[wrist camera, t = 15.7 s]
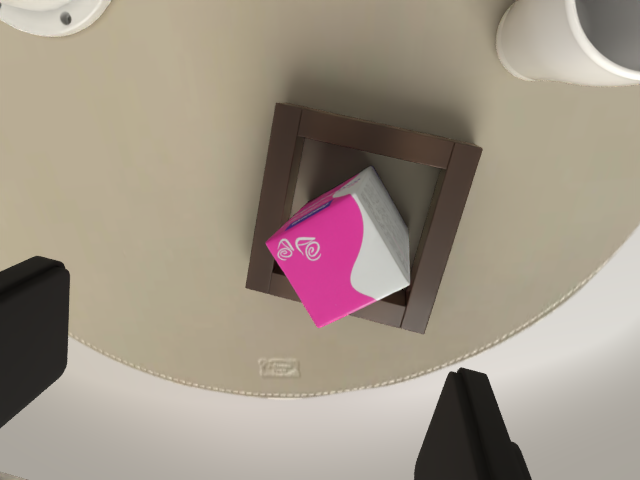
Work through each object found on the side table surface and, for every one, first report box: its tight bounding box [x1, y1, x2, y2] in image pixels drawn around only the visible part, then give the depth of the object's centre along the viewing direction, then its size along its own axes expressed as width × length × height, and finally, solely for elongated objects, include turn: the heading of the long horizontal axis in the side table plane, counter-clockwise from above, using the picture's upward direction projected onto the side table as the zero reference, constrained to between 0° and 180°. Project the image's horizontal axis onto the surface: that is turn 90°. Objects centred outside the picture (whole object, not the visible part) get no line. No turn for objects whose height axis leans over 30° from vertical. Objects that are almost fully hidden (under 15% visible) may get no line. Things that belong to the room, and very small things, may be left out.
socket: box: [246, 103, 483, 334], centre depth 32 cm, size 14×14×3 cm
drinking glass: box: [496, 0, 640, 87], centre depth 22 cm, size 7×7×15 cm
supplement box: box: [266, 166, 410, 328], centre depth 28 cm, size 6×6×12 cm
